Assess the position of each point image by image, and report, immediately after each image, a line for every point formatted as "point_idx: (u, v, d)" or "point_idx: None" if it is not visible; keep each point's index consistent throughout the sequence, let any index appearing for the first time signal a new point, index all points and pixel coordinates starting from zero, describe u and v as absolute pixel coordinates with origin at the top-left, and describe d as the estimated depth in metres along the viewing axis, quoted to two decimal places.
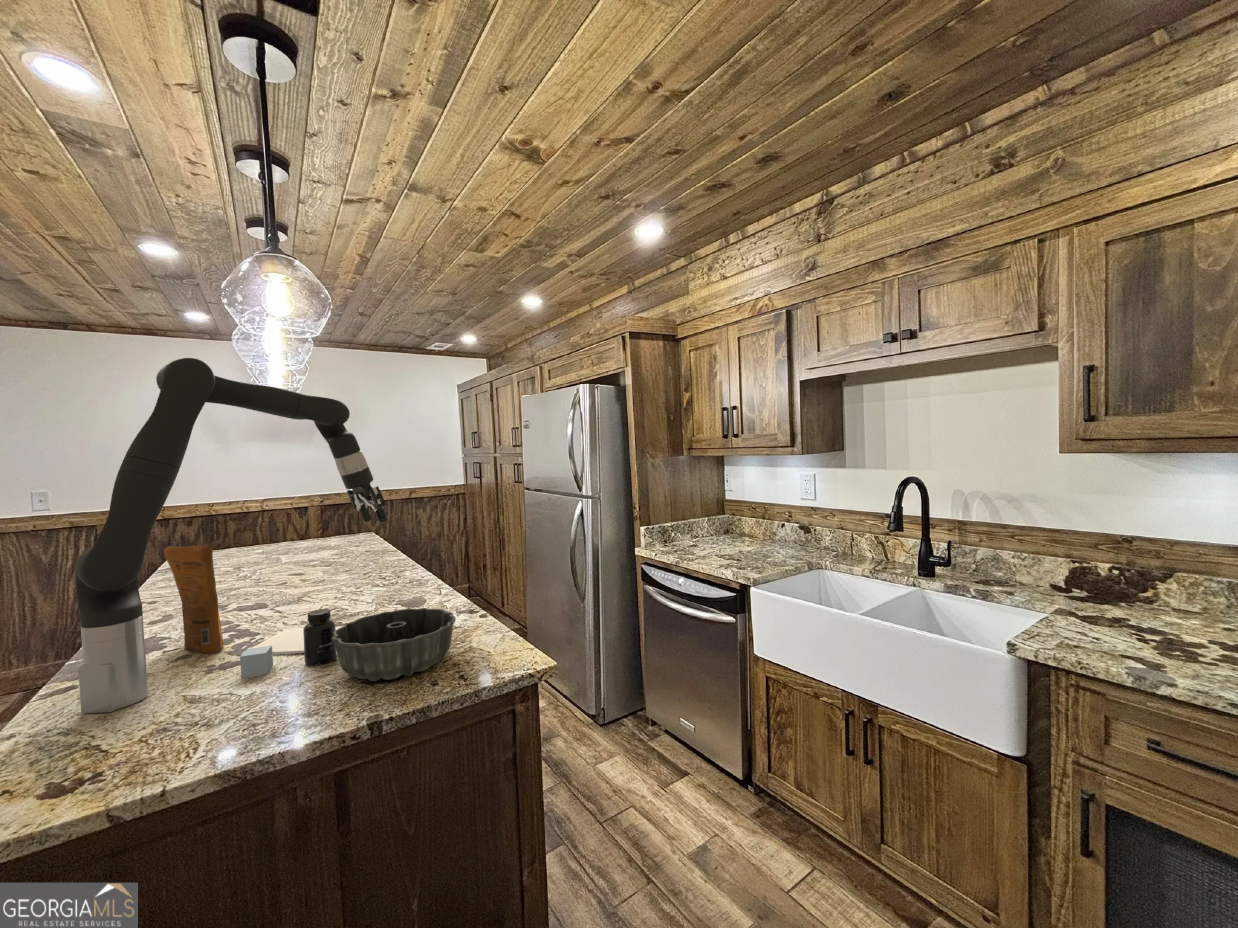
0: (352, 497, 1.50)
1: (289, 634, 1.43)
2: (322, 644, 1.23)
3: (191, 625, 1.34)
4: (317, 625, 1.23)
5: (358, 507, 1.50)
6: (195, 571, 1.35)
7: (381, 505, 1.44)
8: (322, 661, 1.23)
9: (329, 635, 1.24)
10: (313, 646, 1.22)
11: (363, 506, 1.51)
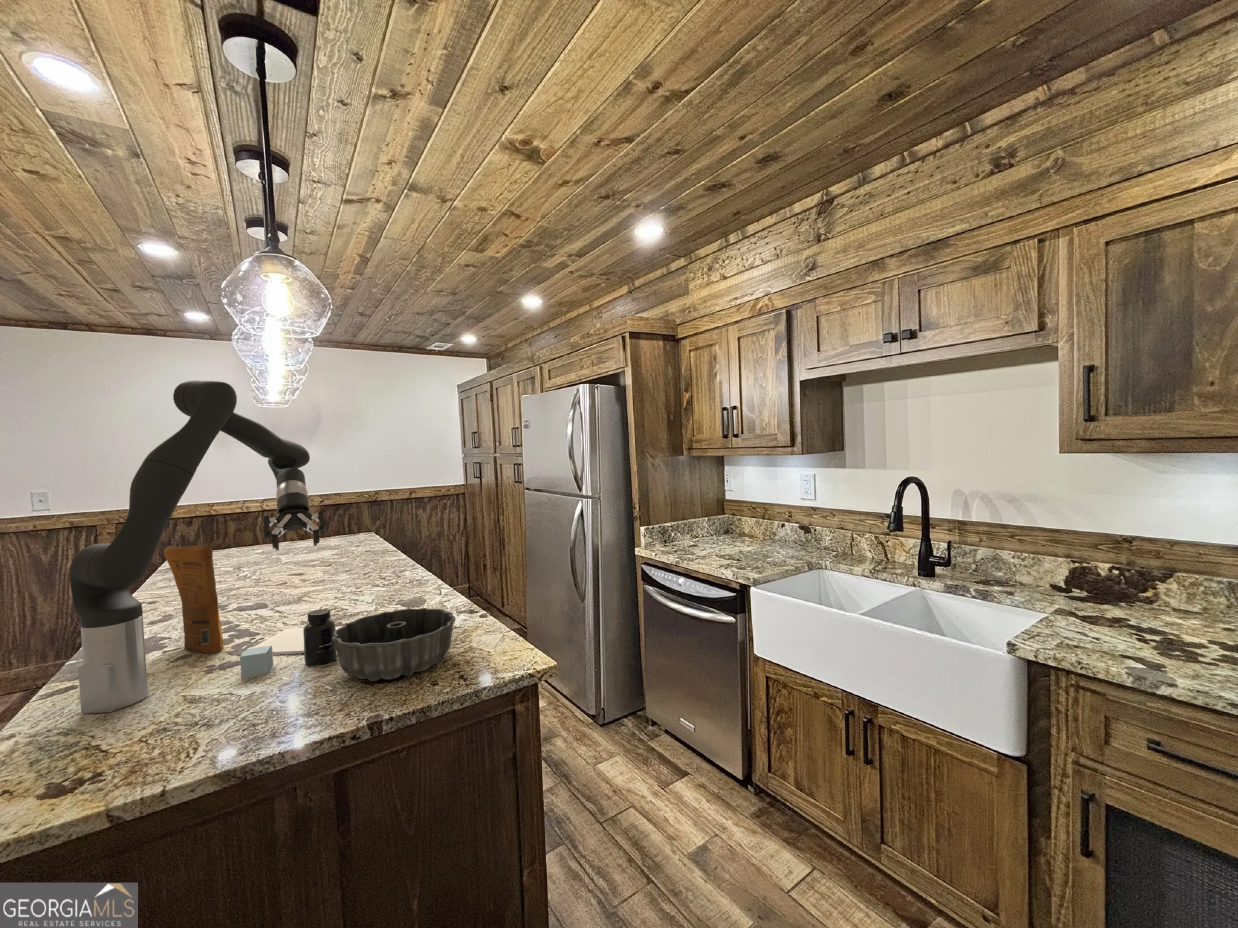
0: (269, 523, 1.36)
1: (289, 634, 1.43)
2: (322, 644, 1.23)
3: (191, 625, 1.34)
4: (317, 625, 1.23)
5: (277, 530, 1.35)
6: (195, 571, 1.35)
7: None
8: (322, 661, 1.23)
9: (329, 635, 1.24)
10: (313, 646, 1.22)
11: None
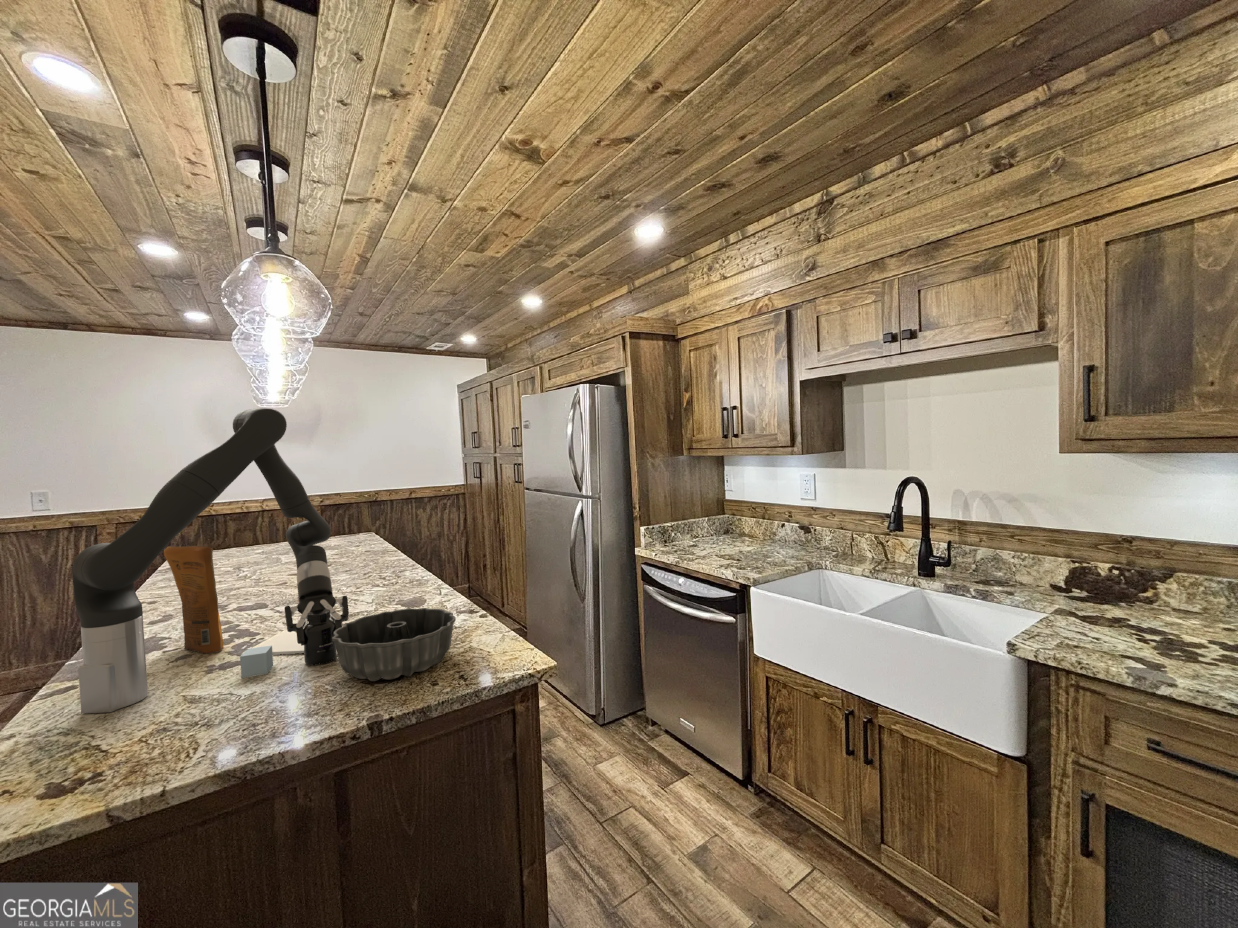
0: (291, 613, 1.25)
1: (289, 634, 1.43)
2: (322, 644, 1.23)
3: (191, 625, 1.34)
4: (317, 625, 1.23)
5: (302, 622, 1.24)
6: (195, 571, 1.35)
7: None
8: (322, 661, 1.23)
9: (329, 634, 1.24)
10: (313, 646, 1.22)
11: None
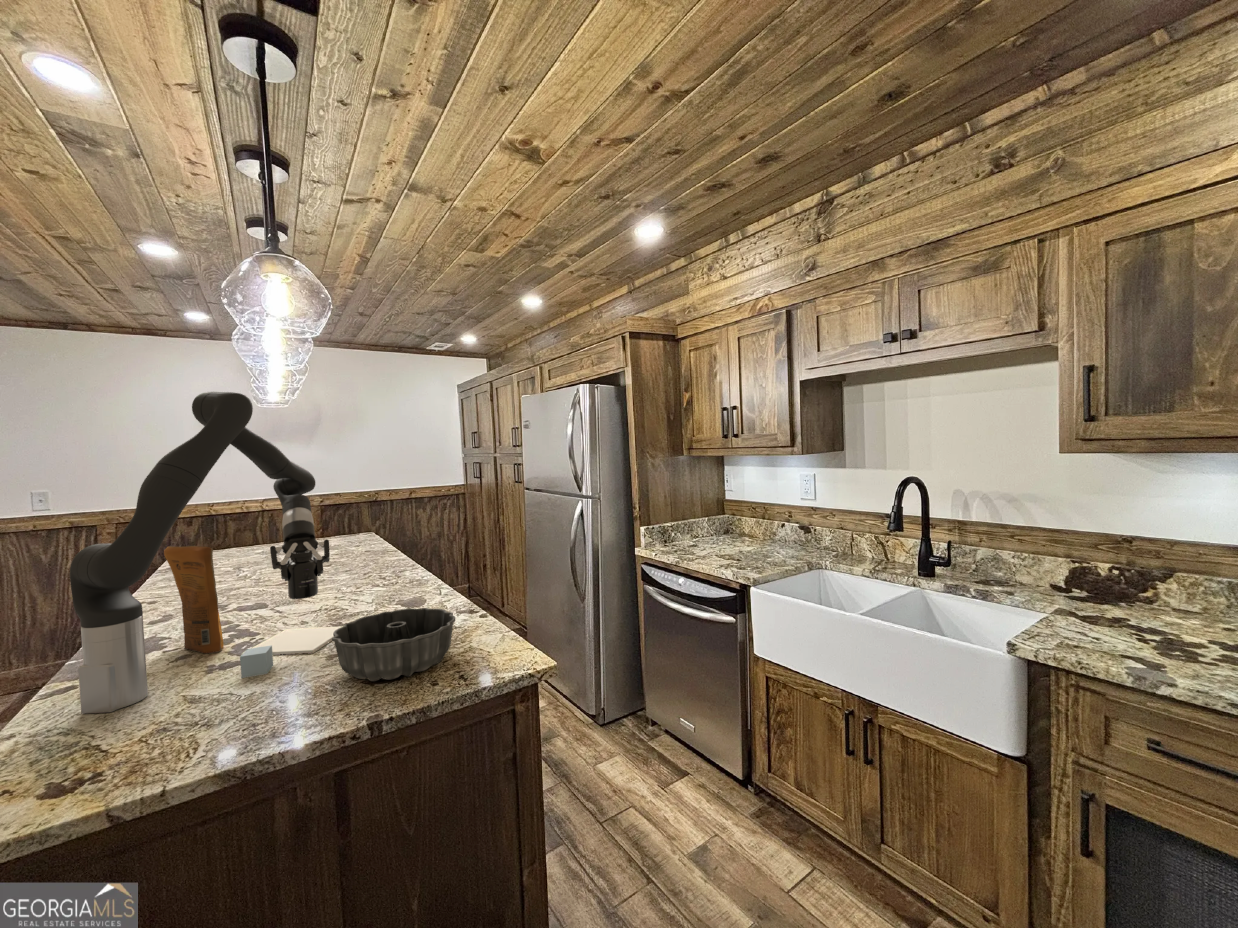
0: (276, 553, 1.36)
1: (289, 634, 1.43)
2: (304, 580, 1.34)
3: (191, 625, 1.34)
4: (300, 562, 1.34)
5: (285, 560, 1.35)
6: (195, 571, 1.35)
7: None
8: (304, 595, 1.34)
9: (311, 572, 1.35)
10: (296, 582, 1.33)
11: None
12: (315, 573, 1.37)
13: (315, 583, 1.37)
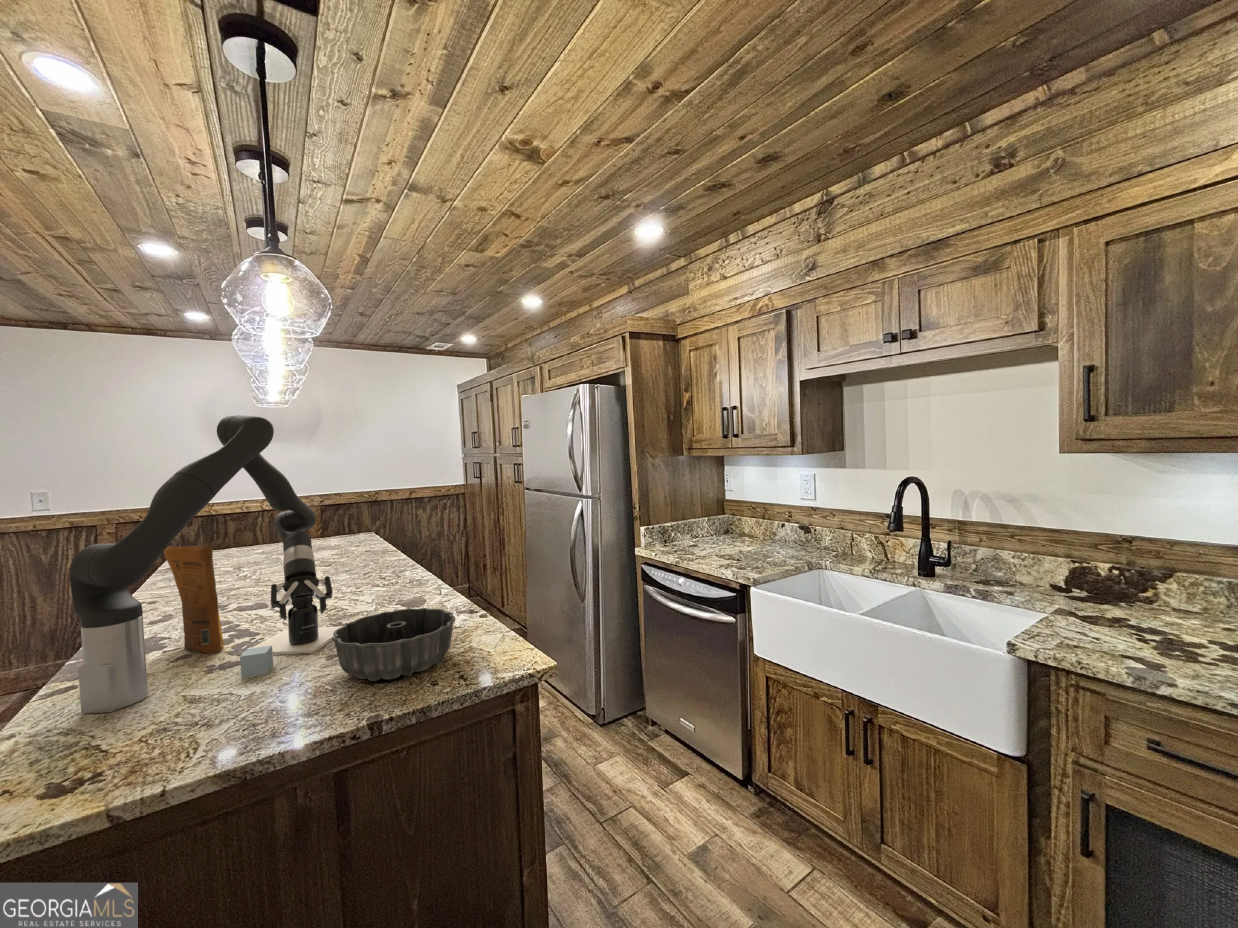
0: (276, 591, 1.37)
1: None
2: (305, 625, 1.35)
3: (191, 625, 1.34)
4: (301, 608, 1.35)
5: (285, 599, 1.36)
6: (195, 571, 1.35)
7: None
8: (305, 641, 1.35)
9: (312, 617, 1.36)
10: (297, 627, 1.34)
11: None
12: (316, 618, 1.37)
13: (316, 628, 1.37)
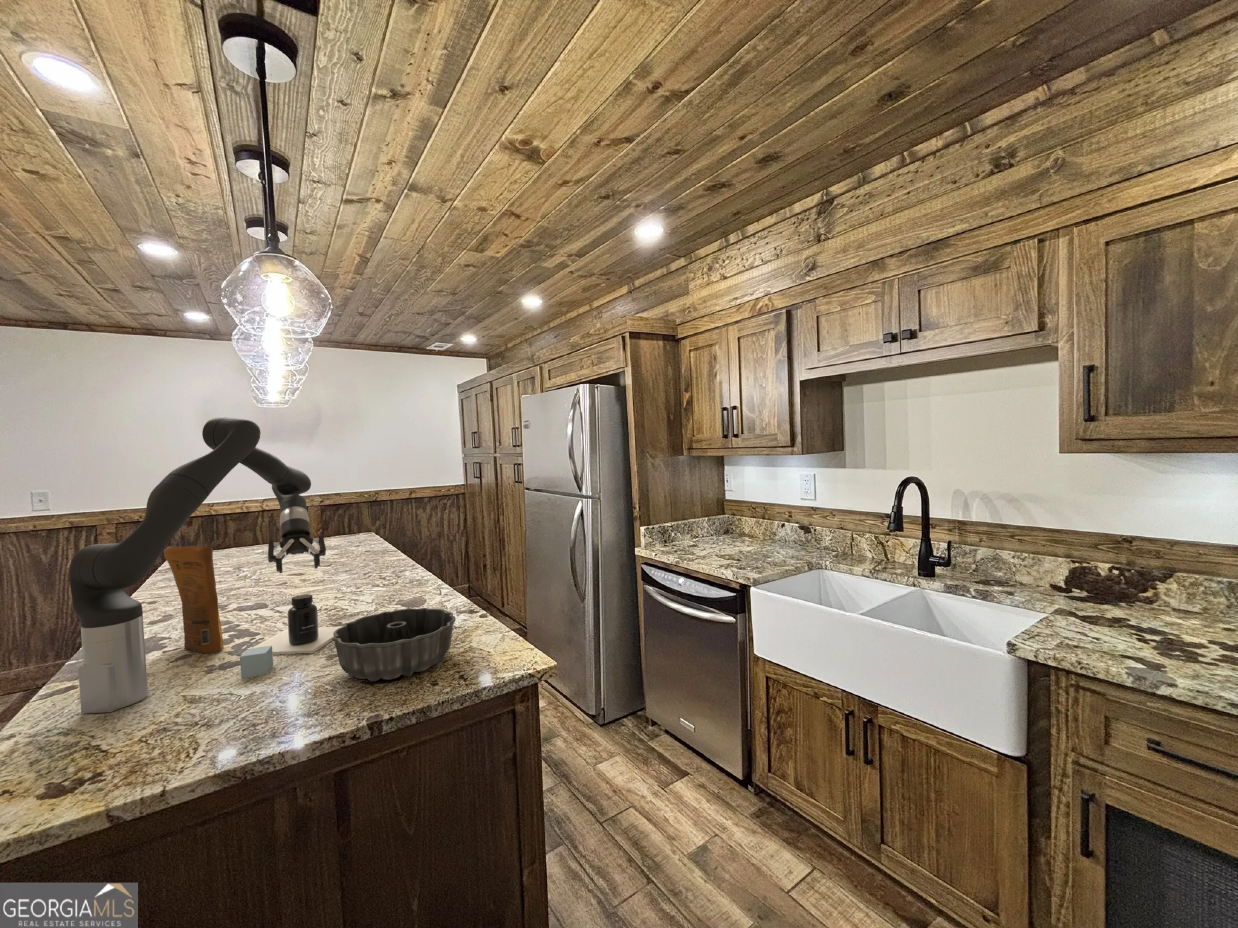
0: (273, 547, 1.47)
1: None
2: (304, 625, 1.35)
3: (191, 625, 1.34)
4: (300, 608, 1.35)
5: (281, 554, 1.46)
6: (195, 571, 1.35)
7: None
8: (305, 641, 1.35)
9: (311, 617, 1.36)
10: (297, 628, 1.34)
11: None
12: (316, 618, 1.37)
13: (316, 628, 1.37)
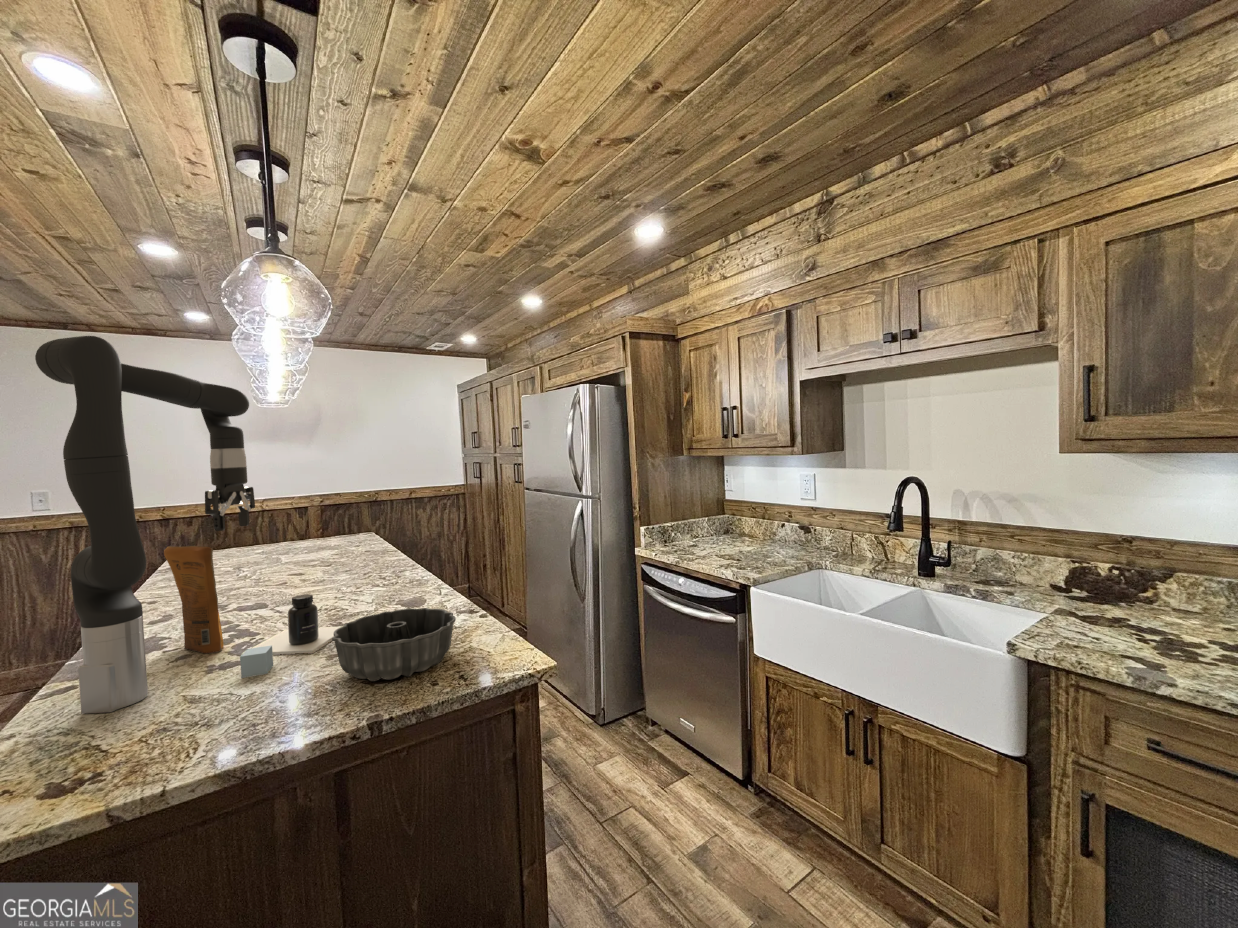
0: None
1: None
2: (305, 625, 1.35)
3: (191, 625, 1.34)
4: (301, 608, 1.35)
5: (224, 510, 1.30)
6: (195, 571, 1.35)
7: None
8: (305, 641, 1.35)
9: (312, 617, 1.36)
10: (297, 628, 1.34)
11: None
12: (316, 618, 1.37)
13: (316, 628, 1.37)
